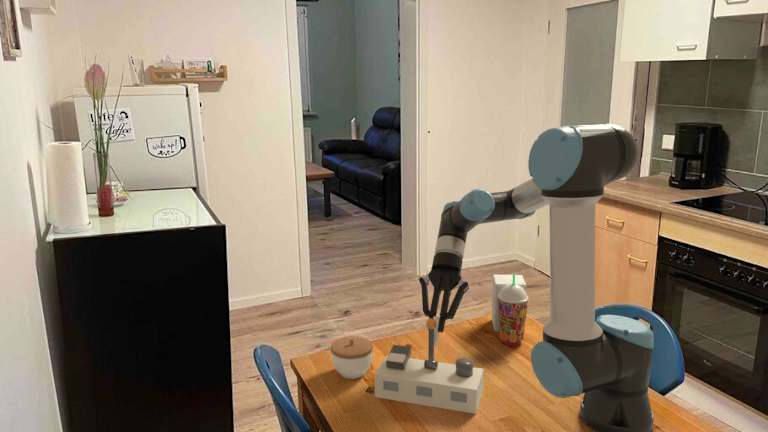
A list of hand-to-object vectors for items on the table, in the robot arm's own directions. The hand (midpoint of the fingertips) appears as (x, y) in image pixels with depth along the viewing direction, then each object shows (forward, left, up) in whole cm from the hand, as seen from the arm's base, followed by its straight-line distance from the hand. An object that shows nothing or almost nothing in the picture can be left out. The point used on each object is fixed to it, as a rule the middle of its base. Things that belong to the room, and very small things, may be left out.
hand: (432, 343), depth 142 cm
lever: (-2, +1, -4) cm, 5 cm away
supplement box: (+19, -38, -11) cm, 44 cm away
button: (-8, -4, -5) cm, 10 cm away
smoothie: (+10, -32, -11) cm, 36 cm away
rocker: (+4, +7, -3) cm, 9 cm away
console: (-3, +3, -11) cm, 12 cm away
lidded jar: (+15, +15, -11) cm, 24 cm away
